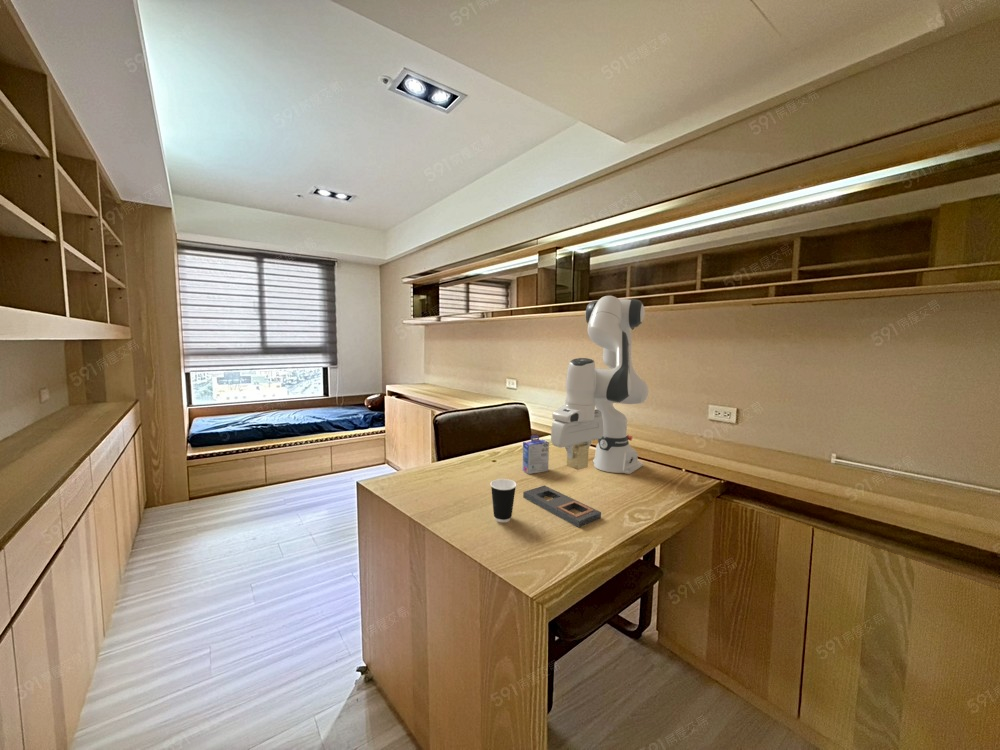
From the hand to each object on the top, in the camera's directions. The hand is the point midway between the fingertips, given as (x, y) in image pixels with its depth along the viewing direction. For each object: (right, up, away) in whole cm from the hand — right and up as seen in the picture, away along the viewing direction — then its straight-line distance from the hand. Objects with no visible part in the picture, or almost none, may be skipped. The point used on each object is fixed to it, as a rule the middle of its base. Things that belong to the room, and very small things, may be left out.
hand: (577, 456), depth 116 cm
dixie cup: (-23, -19, -1) cm, 30 cm away
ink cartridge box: (-9, -15, +40) cm, 44 cm away
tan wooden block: (0, -3, 0) cm, 3 cm away
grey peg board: (-4, -18, +7) cm, 20 cm away
